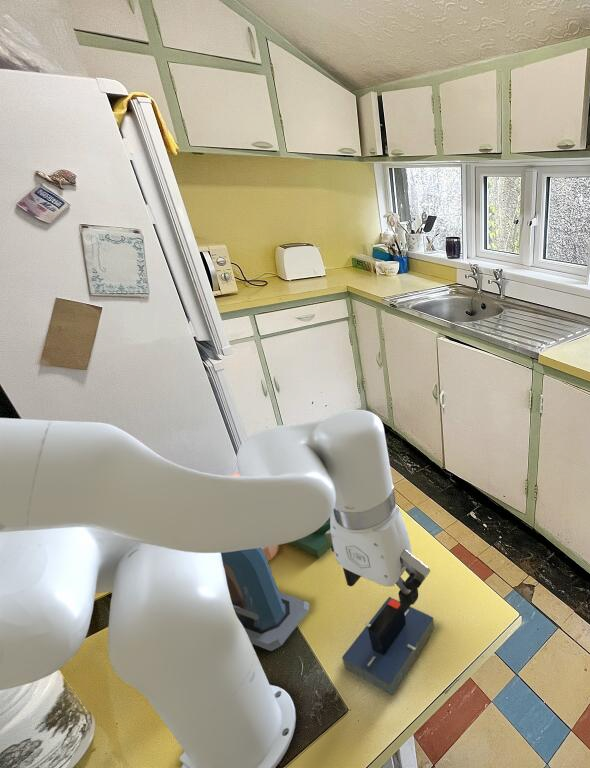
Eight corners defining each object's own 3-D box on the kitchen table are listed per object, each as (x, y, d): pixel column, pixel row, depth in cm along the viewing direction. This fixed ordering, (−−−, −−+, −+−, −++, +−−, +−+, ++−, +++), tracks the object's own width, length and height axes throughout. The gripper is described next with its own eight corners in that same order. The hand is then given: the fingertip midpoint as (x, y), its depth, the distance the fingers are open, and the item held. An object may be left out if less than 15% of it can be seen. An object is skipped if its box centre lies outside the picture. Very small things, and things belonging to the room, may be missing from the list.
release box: (319, 558, 81) (315, 543, 79) (283, 541, 84) (278, 527, 83) (362, 517, 91) (359, 503, 89) (328, 503, 94) (324, 490, 93)
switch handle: (383, 655, 62) (379, 634, 60) (372, 649, 63) (367, 628, 60) (406, 623, 66) (402, 602, 64) (395, 618, 67) (391, 597, 65)
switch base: (394, 697, 60) (392, 685, 58) (343, 667, 63) (339, 655, 62) (436, 629, 69) (435, 617, 67) (389, 606, 72) (387, 595, 71)
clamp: (314, 604, 72) (286, 513, 63) (275, 653, 65) (236, 559, 55) (168, 553, 81) (124, 467, 72) (118, 591, 74) (62, 501, 64)
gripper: (290, 501, 52) (318, 589, 60) (402, 546, 46) (416, 637, 54) (335, 467, 59) (355, 551, 66) (438, 502, 52) (446, 590, 60)
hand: (382, 590), depth 60 cm, fingers open, 9 cm apart
